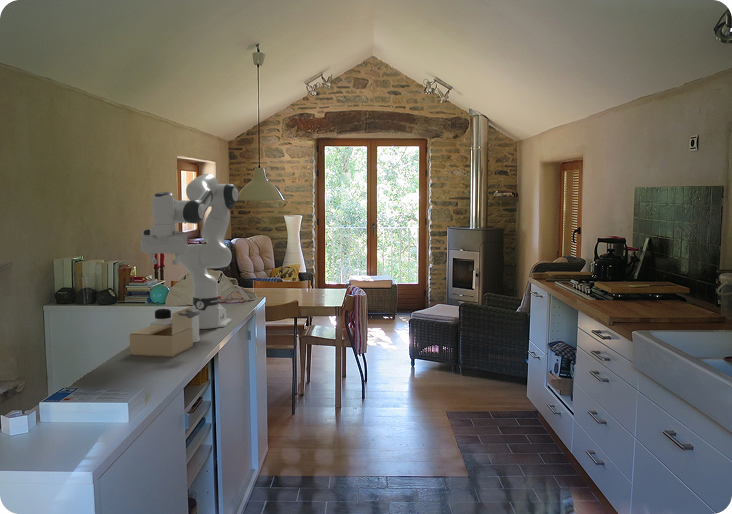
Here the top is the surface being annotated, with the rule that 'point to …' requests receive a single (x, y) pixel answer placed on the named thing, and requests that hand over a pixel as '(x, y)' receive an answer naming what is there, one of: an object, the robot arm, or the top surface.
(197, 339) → the mug
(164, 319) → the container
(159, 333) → the carton
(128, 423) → the top surface
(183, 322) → the near flap
